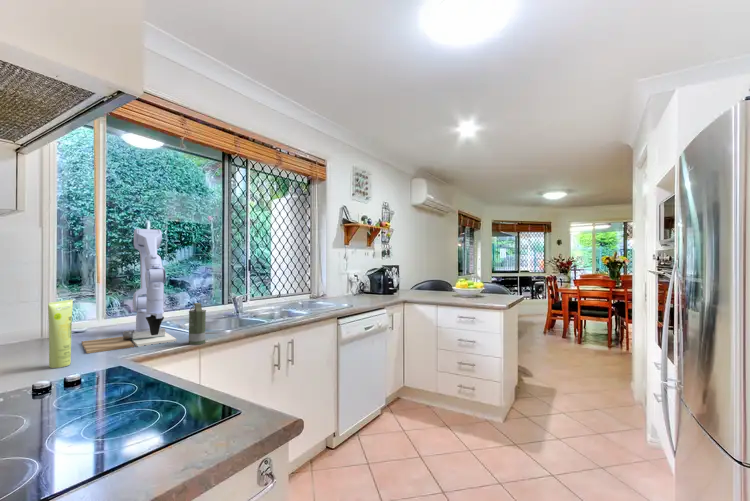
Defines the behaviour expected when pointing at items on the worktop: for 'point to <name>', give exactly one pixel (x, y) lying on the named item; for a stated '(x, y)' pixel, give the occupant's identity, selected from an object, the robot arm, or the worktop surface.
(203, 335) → the grenade
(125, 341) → the board
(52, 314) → the tube
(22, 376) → the worktop surface
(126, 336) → the swing bar
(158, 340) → the door board
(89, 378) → the worktop surface
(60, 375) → the worktop surface
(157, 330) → the robot arm
